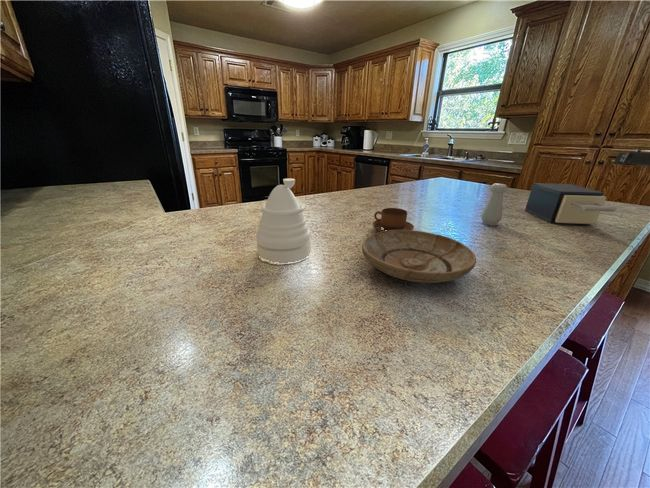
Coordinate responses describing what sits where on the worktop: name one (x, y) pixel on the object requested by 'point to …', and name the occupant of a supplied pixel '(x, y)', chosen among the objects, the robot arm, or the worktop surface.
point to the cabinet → (552, 199)
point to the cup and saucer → (392, 220)
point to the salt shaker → (494, 205)
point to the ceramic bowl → (418, 256)
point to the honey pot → (283, 227)
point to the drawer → (581, 208)
